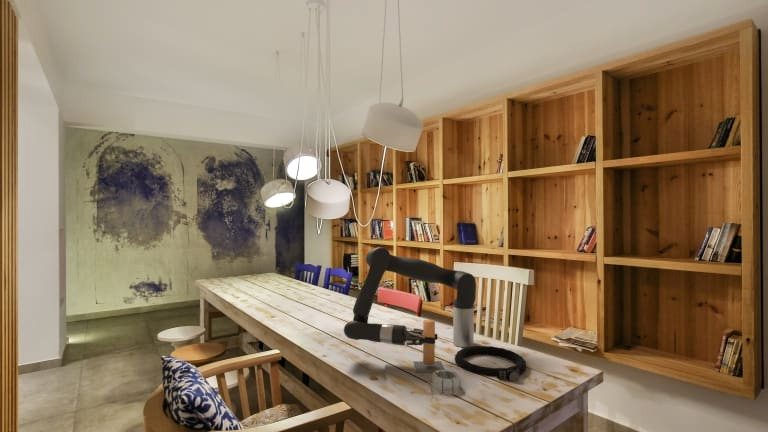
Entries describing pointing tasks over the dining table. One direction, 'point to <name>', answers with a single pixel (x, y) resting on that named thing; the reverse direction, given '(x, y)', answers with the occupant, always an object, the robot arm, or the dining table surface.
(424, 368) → the mat
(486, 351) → the cable lock
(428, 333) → the tube
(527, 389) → the dining table surface
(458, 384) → the collar stand
